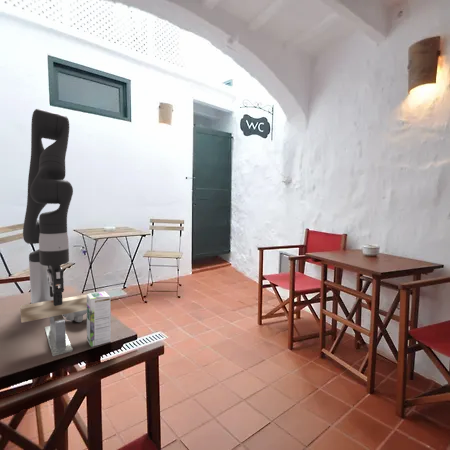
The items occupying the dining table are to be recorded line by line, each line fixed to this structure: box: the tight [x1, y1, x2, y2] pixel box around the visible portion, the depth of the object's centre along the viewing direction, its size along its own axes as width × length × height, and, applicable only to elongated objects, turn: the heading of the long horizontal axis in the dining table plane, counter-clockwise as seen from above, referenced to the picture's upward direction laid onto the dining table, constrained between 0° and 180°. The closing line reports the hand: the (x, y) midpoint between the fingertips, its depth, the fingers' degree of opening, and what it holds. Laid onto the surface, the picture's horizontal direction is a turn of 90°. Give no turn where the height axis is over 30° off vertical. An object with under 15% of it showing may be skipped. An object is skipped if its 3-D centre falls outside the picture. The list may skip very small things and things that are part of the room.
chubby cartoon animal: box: [63, 310, 87, 323], centre depth 104 cm, size 7×12×8 cm, turn 129°
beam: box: [19, 293, 88, 323], centre depth 88 cm, size 18×3×4 cm, turn 127°
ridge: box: [44, 315, 74, 357], centre depth 89 cm, size 20×5×8 cm, turn 37°
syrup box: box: [86, 291, 112, 348], centre depth 88 cm, size 6×6×14 cm
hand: (56, 300), depth 88 cm, fingers open, 8 cm apart
